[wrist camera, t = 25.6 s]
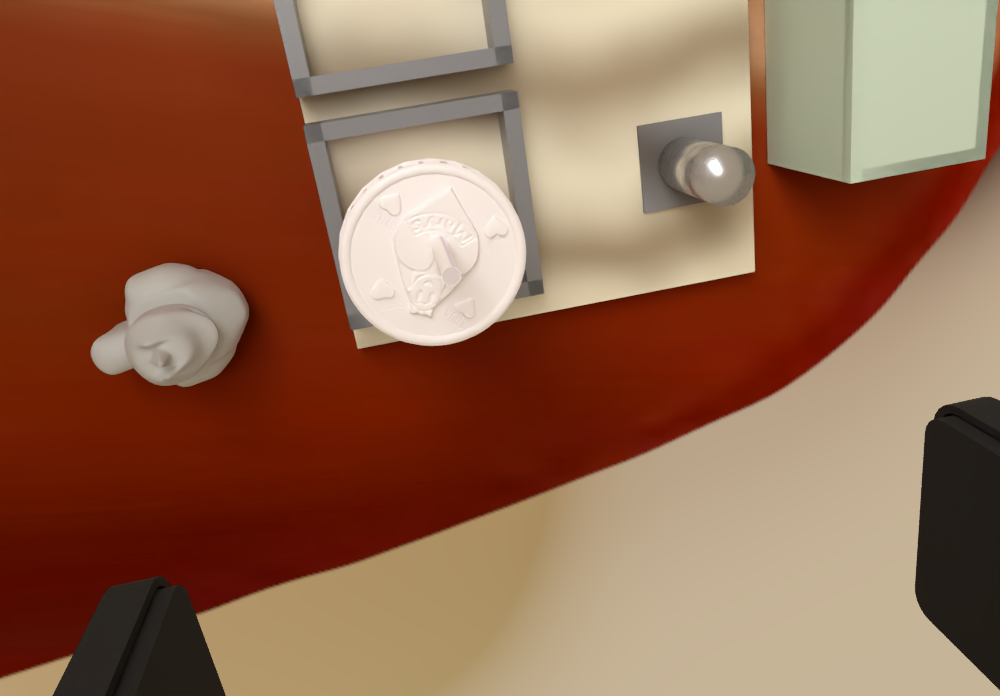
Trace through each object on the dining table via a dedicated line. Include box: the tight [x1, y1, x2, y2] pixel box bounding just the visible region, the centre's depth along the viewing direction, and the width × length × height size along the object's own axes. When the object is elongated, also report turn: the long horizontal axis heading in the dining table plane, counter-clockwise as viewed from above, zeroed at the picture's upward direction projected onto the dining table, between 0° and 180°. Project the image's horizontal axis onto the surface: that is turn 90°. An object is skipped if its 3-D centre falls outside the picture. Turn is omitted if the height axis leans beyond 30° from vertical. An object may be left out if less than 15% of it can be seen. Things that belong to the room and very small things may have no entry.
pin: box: [658, 137, 755, 207], centre depth 33 cm, size 2×2×5 cm
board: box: [296, 0, 755, 349], centre depth 34 cm, size 22×20×1 cm
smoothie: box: [338, 158, 526, 346], centre depth 28 cm, size 6×6×14 cm
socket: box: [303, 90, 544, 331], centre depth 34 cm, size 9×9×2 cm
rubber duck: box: [91, 263, 249, 387], centre depth 32 cm, size 5×7×8 cm
